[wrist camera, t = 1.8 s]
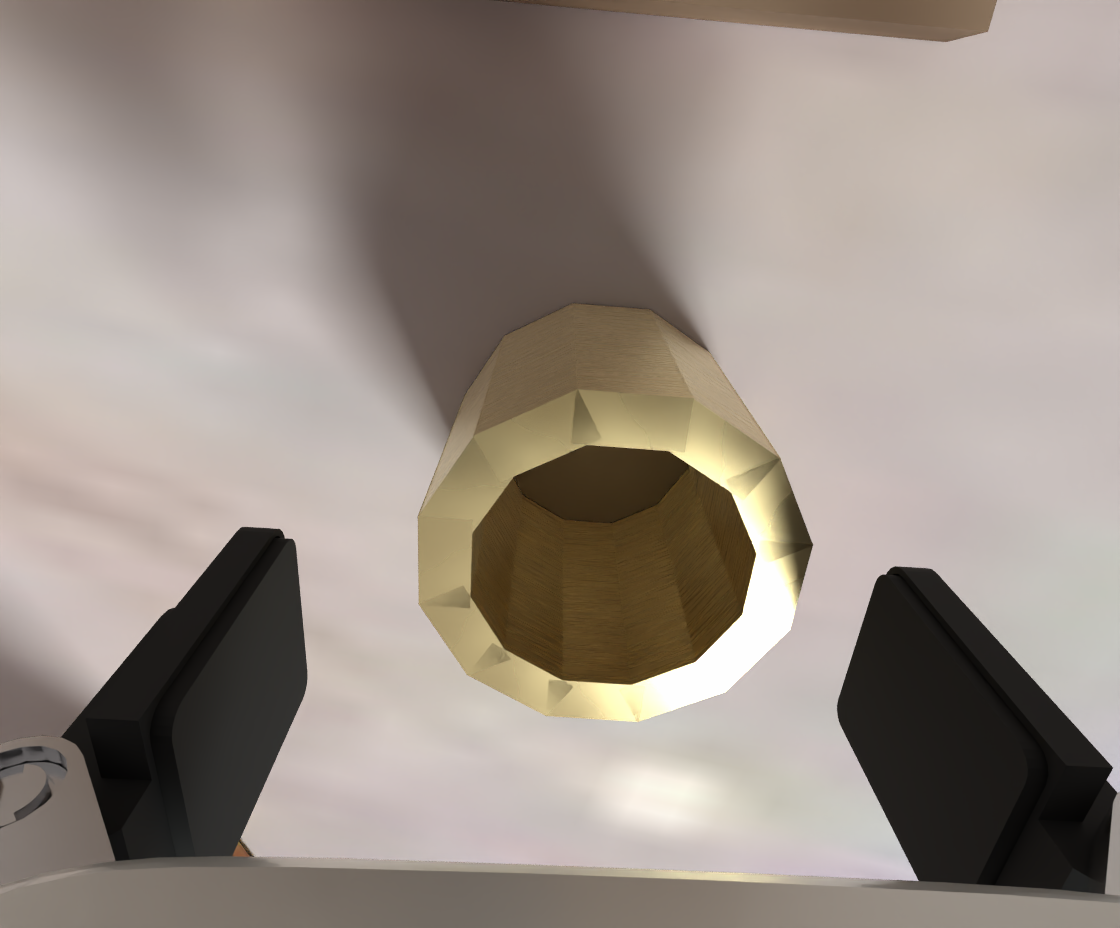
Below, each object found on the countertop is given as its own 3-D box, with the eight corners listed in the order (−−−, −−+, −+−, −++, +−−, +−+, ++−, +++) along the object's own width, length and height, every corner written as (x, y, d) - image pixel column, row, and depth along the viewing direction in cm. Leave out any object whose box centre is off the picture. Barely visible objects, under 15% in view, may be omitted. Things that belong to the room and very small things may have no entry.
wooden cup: (753, 317, 16) (850, 409, 11) (705, 559, 19) (762, 730, 13) (466, 294, 16) (416, 376, 10) (461, 541, 19) (419, 707, 13)
